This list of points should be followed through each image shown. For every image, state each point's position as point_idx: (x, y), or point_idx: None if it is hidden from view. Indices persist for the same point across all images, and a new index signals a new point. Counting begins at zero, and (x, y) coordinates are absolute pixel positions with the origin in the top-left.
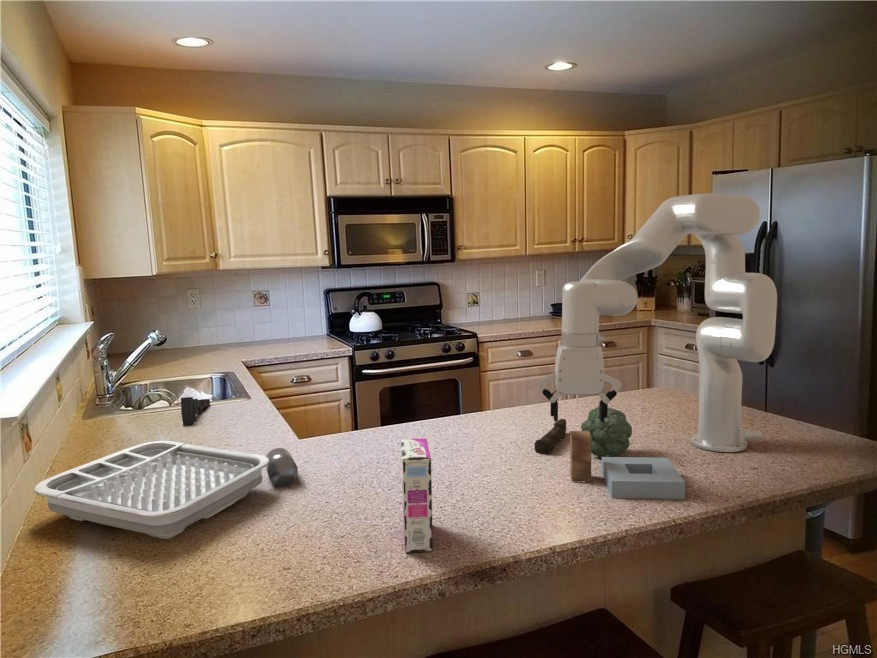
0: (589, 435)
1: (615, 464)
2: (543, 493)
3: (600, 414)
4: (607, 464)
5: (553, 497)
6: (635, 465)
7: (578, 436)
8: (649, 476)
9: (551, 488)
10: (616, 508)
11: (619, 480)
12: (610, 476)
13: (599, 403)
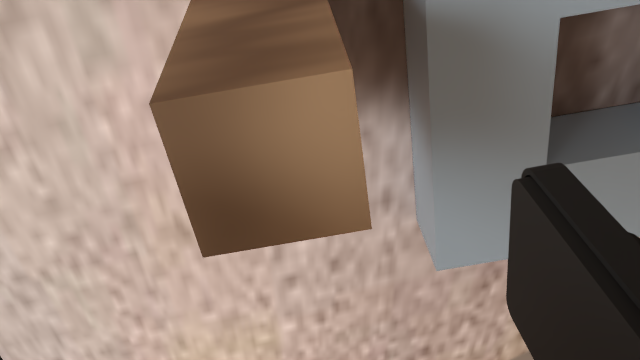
0: (356, 198)
1: (497, 41)
2: (122, 240)
3: (543, 332)
4: (445, 54)
5: (175, 265)
6: (625, 4)
7: (259, 239)
8: (636, 186)
9: (141, 184)
10: (424, 294)
11: (473, 260)
12: (437, 224)
13: (633, 358)
